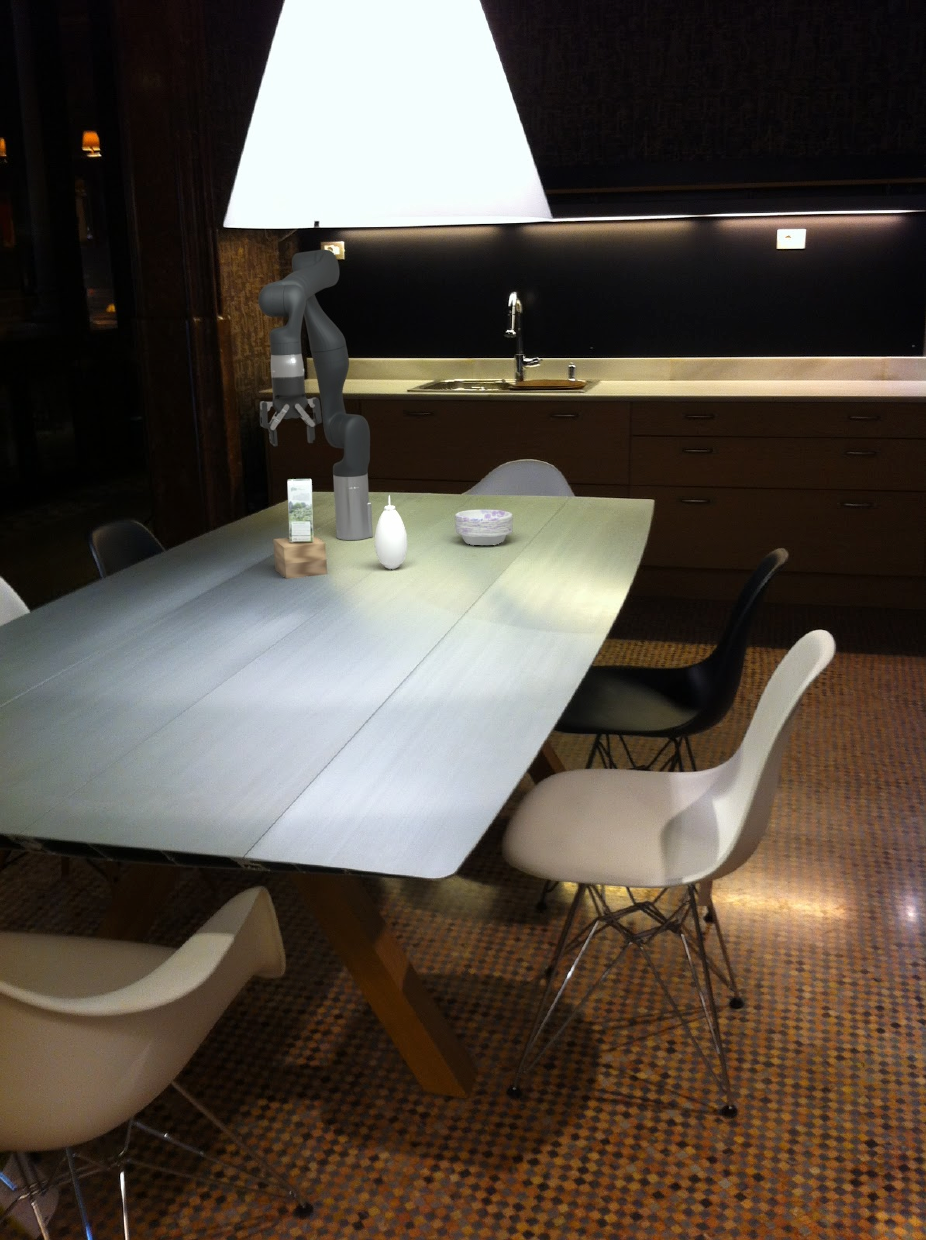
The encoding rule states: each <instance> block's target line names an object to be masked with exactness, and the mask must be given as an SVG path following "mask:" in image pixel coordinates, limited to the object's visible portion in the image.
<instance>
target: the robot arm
mask: <svg viewBox="0 0 926 1240" xmlns="http://www.w3.org/2000/svg"><path fill="white" fill-rule="evenodd" d="M291 269H292V272H291V273H289V274H288V275H286V276H285V277H284V278H283V279H282V280H277V281H276V280H275V281H274V282H270V283H267V284H265V285H264V286H263V287H262V288H261V290H260V292H259V294H258V300H257V302H258V307H259V309H260V311H261V312H262V314H264V315H265V316H267V317H269V318H283V317H284V318H287V317H288V320H287V323H286V325H283V326H280V327H275V328H273V329H271V330H270V333H269V344H270V347H269V348H270V372H271V374H270V375H271V387H272V400H271V401H264V400H263V401H261V400H260V402H259V426H260V427H261V428H264V429H267V430H268V436H269V437H268V439H269V443H270V444H271V445H272V446H273V447H278V432H277V431H278V430H277V429H276V428H277V427H278V425H279V424H280V423H281V421H282V420H283V419H285V420H288V419H289V420H290V419H299V418H301V419H302V420H303V421H304V423H305V424H306V425H307V426H306V437H307V443H309V444H313V443H314V441H315V440H316V431H315V430H316V429H315V428H316V426H317V425H319V424H321V423H323V432H324V436H325V439H326V440H327V442H328V444H329V445H330V446H331V447H333V448H335V449H337V448H338V449H343V458H342V459H341V460H340V461H338V462H336V463H334V464H333V466H332V474H333V493H334V494H333V496H334V512H335V514H334V516H335V533H336V538H337V539H338V540H344V541H359V540H365V539H368V538H373V537H374V535H373V517H372V516H373V512H372V510H373V509H372V502H371V501H370V500H369V499H370V498H369V496H370V495H369V478H368V477H369V476H368V475H369V474H368V472H369V471H368V469H369V464H370V459H371V453H370V452H371V432H370V425H369V423H368V420H367V419H366V418H365V417H364V416H363V415H360V414H351V413H347V412H346V408H345V404H344V398H343V396H344V395H343V392H344V391H343V390H344V386H345V382H346V379H347V375H348V372H349V368H350V359H349V354H348V348H347V343H346V338H345V336H344V334H343V333H342V331H341V330H340V329H339V327H337V325H336V324H335V323H334V322H333V321H332V320H331V319H330V317H329V316H328V315H327V314H326V313H325V312H324V311H323V309H322V307H321V306H320V304H319V301H318V299H317V298H316V297H317V296H316V294H317V293H318V292H320V291H322V290H324V289H326V288H330V287H333V286H335V285H336V284H337V283H338V281H339V279H340V278H339V277H340V265H339V261H338V258H337V256H336V255H335V253H334V252H333V251H331V250H329V249H318V250H317V249H315V250H310V251H303V252H297V253H295V254H294V255H293V257H292V259H291ZM303 319H304V321H305V325H306V331H307V335H308V342H309V348H310V352H311V358H312V361H313V366H314V370H315V376H316V381H317V386H318V387H317V388H318V391H319V396H320V398H318V397H315V396H313V397H312V398H307V397H306V385H305V382H306V381H305V368H304V361H303V355H302V342H301V341H302V339H301V332H302V326H303V325H302V323H303ZM308 404H309V406H310V408H312V413H313V419H312V418H311V417H310V415H309V414H308V413H307V412H306V411H305V410H306V408H307V407H308ZM271 407H272V408H273V410H274V411H275V413H274V414H273V416H272V417H271V420H270V422H268V421H269V419H268V417H269V416H268V412H269V411H270V410H271Z"/></svg>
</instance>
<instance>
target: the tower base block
mask: <svg viewBox="0 0 926 1240" xmlns="http://www.w3.org/2000/svg"><path fill="white" fill-rule="evenodd" d="M327 562H328V561H327V559H326V560H319V561H310V562H301V563H292V564H284V563H283V562H282V561H281V560H279V559H278V558H277V557H276V556H275V555H274V566H275V568H274V569H275V571H276V572H277V573H278V572H279V573H278V574H280V575H281V576H282V577H283V576H284V577H285V578H284V579H285V580H291V579H299V578H307V577H306V576H308V577H315V576H323V575H328V567H327V566H328V564H327Z"/></svg>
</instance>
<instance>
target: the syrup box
mask: <svg viewBox="0 0 926 1240" xmlns="http://www.w3.org/2000/svg"><path fill="white" fill-rule="evenodd" d="M312 482H313V481H312V479H311V478H296V479H294V478H292V479H291V478H289V479H287V486H286V487H287V506H288V508H287V509H288V511H287V512H288V514H287V515H288V536H289V537H288V538H289V540H290V543H295V542H313V535H314V520H313V515H314V514H313V485H312V484H313V483H312Z"/></svg>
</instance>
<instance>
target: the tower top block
mask: <svg viewBox="0 0 926 1240" xmlns="http://www.w3.org/2000/svg"><path fill="white" fill-rule="evenodd" d="M326 550H327V549H326V543H325V542H324V540H321V539H320V538H318V537H317V536H316V535H314V534H313V542H295V543H290V540H289V537H283V538H273V553H274V557H275V556H276V557H277V558H278V559H279V560H281V561H282V562H283V563H284V564H292V563H301V562H310V561H319V560H326V561H327V555H326V554H327V553H326V552H327V551H326Z"/></svg>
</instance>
